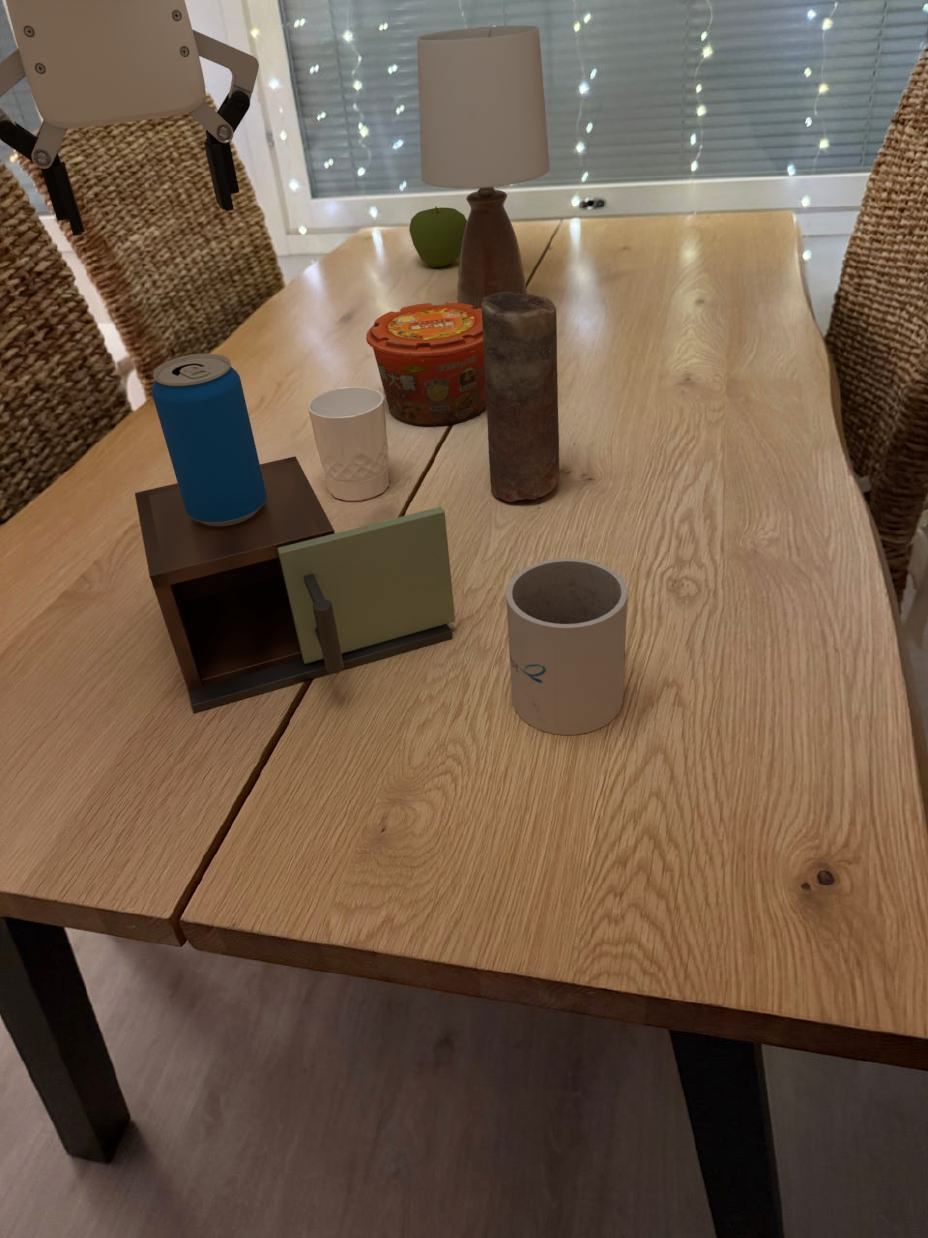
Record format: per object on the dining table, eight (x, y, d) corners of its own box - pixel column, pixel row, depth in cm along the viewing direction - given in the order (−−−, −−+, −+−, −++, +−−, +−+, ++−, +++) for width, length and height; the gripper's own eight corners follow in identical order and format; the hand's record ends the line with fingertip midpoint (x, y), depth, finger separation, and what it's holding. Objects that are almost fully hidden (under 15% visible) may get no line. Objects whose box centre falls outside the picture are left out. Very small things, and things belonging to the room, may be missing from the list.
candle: (508, 467, 102) (499, 284, 90) (570, 477, 100) (569, 289, 88) (479, 499, 97) (465, 310, 85) (543, 511, 94) (539, 316, 82)
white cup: (364, 463, 106) (351, 380, 100) (409, 483, 101) (399, 397, 95) (309, 489, 102) (292, 404, 96) (354, 512, 97) (339, 424, 91)
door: (319, 703, 71) (294, 589, 65) (302, 658, 76) (276, 547, 69) (477, 656, 74) (468, 543, 68) (451, 615, 79) (441, 506, 73)
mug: (636, 726, 68) (641, 619, 62) (521, 742, 68) (516, 635, 62) (598, 627, 78) (599, 526, 72) (497, 640, 78) (491, 540, 72)
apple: (457, 274, 161) (453, 214, 155) (403, 272, 164) (396, 213, 158) (479, 256, 169) (475, 198, 163) (426, 254, 172) (421, 197, 166)
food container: (403, 444, 109) (392, 356, 102) (359, 398, 121) (347, 316, 114) (523, 412, 113) (520, 326, 107) (470, 371, 125) (464, 291, 119)
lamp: (559, 288, 151) (556, 20, 129) (541, 328, 136) (534, 35, 114) (449, 288, 155) (428, 29, 133) (420, 327, 141) (391, 44, 118)
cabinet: (193, 713, 73) (151, 590, 66) (171, 606, 85) (134, 492, 78) (452, 638, 78) (440, 516, 71) (397, 547, 91) (381, 436, 83)
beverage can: (241, 483, 78) (208, 344, 71) (284, 508, 74) (253, 364, 67) (173, 512, 75) (131, 370, 68) (214, 540, 71) (173, 393, 64)
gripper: (214, -117, 56) (270, 188, 66) (-94, -94, 52) (17, 227, 62) (234, -126, 50) (292, 209, 60) (-110, -102, 46) (15, 254, 56)
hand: (153, 218), depth 61 cm, fingers open, 9 cm apart
